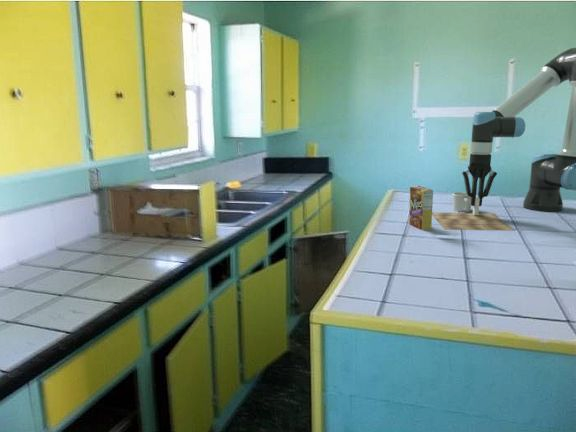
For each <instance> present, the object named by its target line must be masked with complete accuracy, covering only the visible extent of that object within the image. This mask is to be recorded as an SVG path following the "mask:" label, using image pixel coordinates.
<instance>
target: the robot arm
mask: <svg viewBox="0 0 576 432" xmlns="http://www.w3.org/2000/svg"><path fill="white" fill-rule="evenodd" d="M565 81H568V84H569V86H571V87H572V88H571V93H570V98H569V99H570V100H569V106H568V112H567V117H566V122H565V123H566V124H565V129H564V134H563V140H562V147H561V149H560V151H558V152H556V153H541V154H535V155H533V156H532V159H531V163H530V164H531V167H530V179H529V187H528V188H529V189H528V190H527V193H526V195H525V197H524V200H523V204H522V207H523V208H525V209H528V210H531V211H538V212H539V211H540V212H560V211H562V210H563V207H564V202H563V198H562V195H561V188H562V189H565V190H569V191H576V47H573V48H572V47H571V48H568V49H566V50H564V51H563V52H561V53H560V54H558V55H557V56H555V57H553V58H552V59H551V60H550V61H548V62H547V63H546V64H545V65H543V66H542V67H541V68H540V71H539V73H537V74H536V75H535V76H533V78H532V79H530V80H529V81H528V82H526V83H525V84H524V85H523V86H522V87H520V88H518V90H516V91H515V92H514V93H512V95H510V96H508V98H507V99H506V100H504V101H502V102H501V103H500V104H499V105H498V106H496V108H494V109H493V110H491V111H475V113H473V114H474V115H473V117H472V118H473V119H472V129H471V130H472V131H471V143H470V144H471V145H470V152H471V153H470V155H469V164H468V167H467V168H466V169H465V170H461V175H462V176H463V181H464V185H465V192H466V193H467V195H468V196H470V197H471V207H472V213H473V214H474V215H478V213H480V212H479V211H480V207H482V205H483V199H484V198H486V197H487V198H488V196H489V193H490V190H491V187H492V184H493V182H494V179H495V178H496V177H497V175H498V173H497V172H496V171H494V170H492V166H491V162H492V154H491V153H492V151H493V142H494V141H493V140H494V138H520V137H522V135H524V133H525V131H526V121H525V120H524V118H522V117H520V116H518V115H519V114H520V113H522V112H523V111H524V110H525V109H526V108H528V107H529V106H530V105H532V104H533V103H534V102H535V101H537V99H539V98H540V97H542V96H543V95H544V94H545V93H546V92H548V91H549V90H551V88H553V87H558V86H560V85H561V84H562V83H564V82H565ZM469 174H470V175H471V177H472V182H471V183H470V178H469ZM487 175H489V176H488V179H487V181H486V183H485V180H486V177H487ZM477 188H478V193H477ZM559 210H560V211H559Z"/></svg>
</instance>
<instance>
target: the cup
mask: <svg viewBox="0 0 576 432" xmlns="http://www.w3.org/2000/svg"><path fill="white" fill-rule="evenodd" d="M451 196H452V210H453V211H455V212H458V213H463V212H464V213H469V212H470V211H471V209H472V206H471V197H470V196H468V195H467V193H466V191H457V192H452V194H451Z"/></svg>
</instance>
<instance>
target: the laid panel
mask: <svg viewBox="0 0 576 432" xmlns="http://www.w3.org/2000/svg"><path fill="white" fill-rule="evenodd" d="M435 220H436V222H437V223H439V225H440V226H441V227H442V229H443V230H451V231H452V230H454V231H509V232H510V231H512V232H513V231H516V229H514V228H513V227H512V226H511V225H509V224H507V222H505V221H504V220H502V219H501V220H479V219H435Z"/></svg>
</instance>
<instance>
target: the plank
mask: <svg viewBox="0 0 576 432" xmlns="http://www.w3.org/2000/svg"><path fill="white" fill-rule="evenodd" d="M432 217H433V218H434V219H435V220H436V219H475V220H502V219H501V218H500V217H499V216H498V215H497V214H496V213H483V212H482V213H480V212H478V215H474V214H473V212H472V213H471V212H470V213H469V212H464V213H463V212H432Z"/></svg>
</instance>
